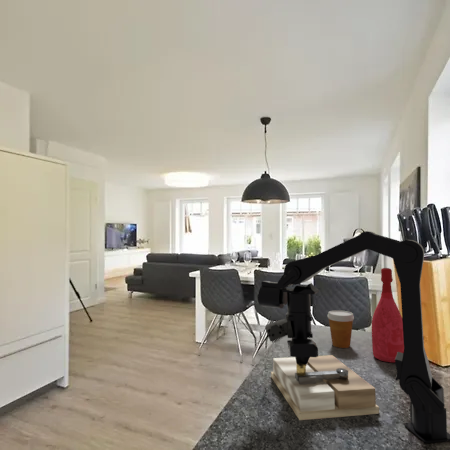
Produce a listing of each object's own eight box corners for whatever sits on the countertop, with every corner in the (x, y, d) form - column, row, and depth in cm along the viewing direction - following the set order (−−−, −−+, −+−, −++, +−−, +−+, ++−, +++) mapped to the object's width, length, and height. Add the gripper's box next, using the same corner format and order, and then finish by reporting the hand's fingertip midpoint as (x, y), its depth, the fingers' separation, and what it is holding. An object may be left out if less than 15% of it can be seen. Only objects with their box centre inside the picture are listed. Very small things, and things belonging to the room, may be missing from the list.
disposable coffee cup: (322, 343, 126) (321, 311, 127) (341, 340, 130) (340, 309, 131) (340, 351, 118) (340, 317, 118) (360, 347, 122) (359, 314, 122)
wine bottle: (386, 365, 104) (384, 269, 106) (365, 354, 114) (364, 267, 115) (412, 362, 107) (409, 268, 108) (389, 352, 116) (387, 266, 118)
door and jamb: (379, 413, 76) (378, 382, 76) (299, 420, 74) (299, 388, 74) (333, 373, 99) (332, 349, 99) (271, 377, 96) (270, 352, 97)
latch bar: (344, 374, 84) (344, 360, 84) (350, 379, 81) (350, 364, 81) (294, 377, 82) (294, 363, 82) (298, 382, 79) (298, 367, 79)
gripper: (266, 302, 94) (267, 358, 94) (267, 319, 76) (268, 389, 75) (306, 302, 93) (308, 359, 92) (317, 320, 74) (319, 390, 74)
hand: (300, 372), depth 83 cm, fingers closed
